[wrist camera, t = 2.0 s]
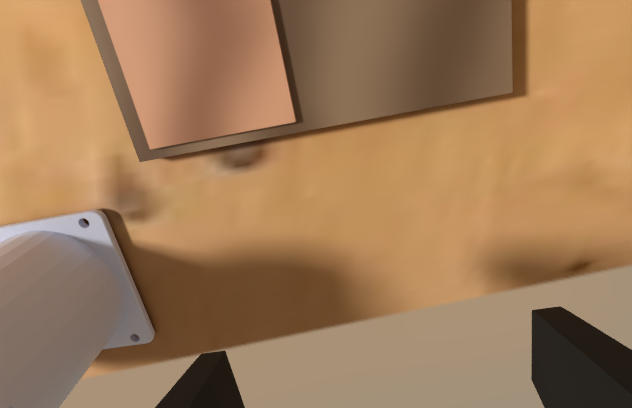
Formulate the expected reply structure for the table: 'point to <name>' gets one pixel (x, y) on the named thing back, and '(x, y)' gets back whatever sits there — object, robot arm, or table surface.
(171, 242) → the table surface
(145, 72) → the walnut rack
